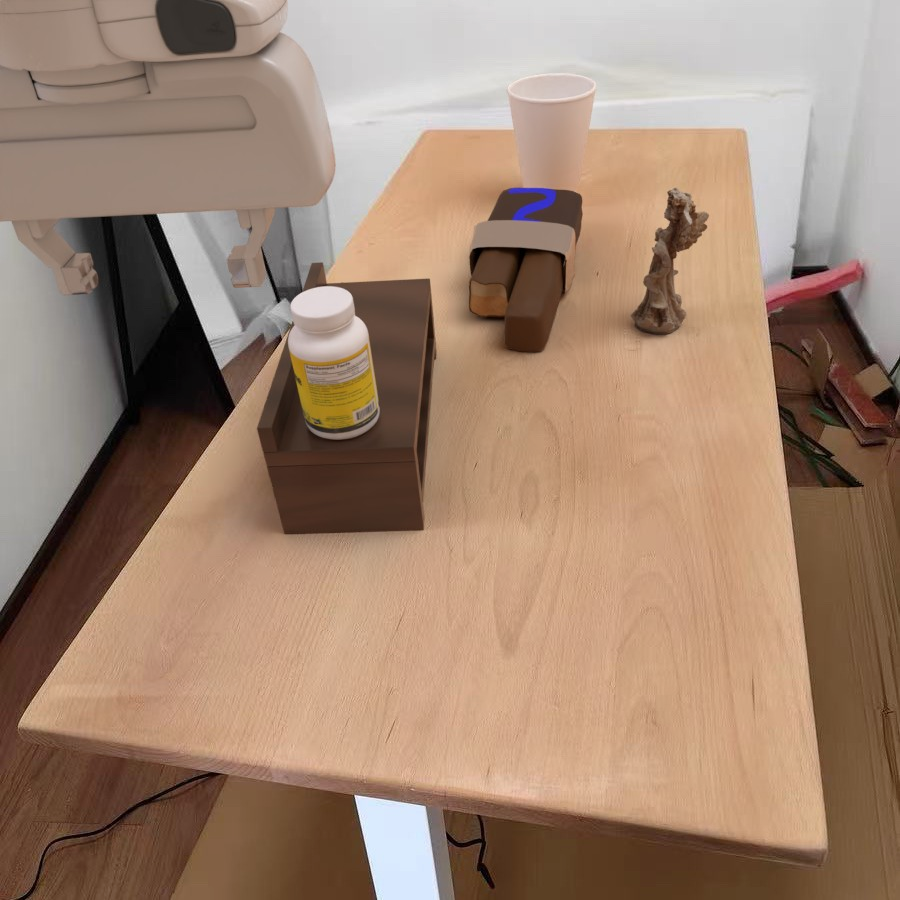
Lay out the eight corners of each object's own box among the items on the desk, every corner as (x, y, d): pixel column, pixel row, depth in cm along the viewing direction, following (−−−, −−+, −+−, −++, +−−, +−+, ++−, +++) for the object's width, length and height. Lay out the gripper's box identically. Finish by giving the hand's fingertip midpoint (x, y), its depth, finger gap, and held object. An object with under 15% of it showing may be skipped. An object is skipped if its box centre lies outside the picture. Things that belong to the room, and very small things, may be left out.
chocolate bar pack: (590, 223, 114) (592, 165, 108) (552, 367, 94) (552, 304, 88) (500, 219, 117) (496, 162, 111) (444, 357, 97) (437, 296, 91)
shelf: (423, 529, 73) (410, 422, 66) (284, 534, 74) (256, 428, 67) (436, 351, 95) (428, 256, 88) (328, 356, 96) (311, 262, 89)
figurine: (647, 302, 100) (658, 175, 91) (698, 313, 97) (715, 184, 88) (623, 332, 95) (631, 202, 86) (675, 344, 93) (690, 211, 83)
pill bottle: (314, 397, 74) (291, 281, 67) (386, 397, 73) (369, 280, 66) (297, 442, 69) (270, 322, 62) (373, 443, 68) (354, 321, 61)
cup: (605, 210, 120) (610, 91, 111) (523, 224, 119) (521, 105, 109) (576, 180, 130) (578, 68, 120) (500, 192, 128) (496, 80, 118)
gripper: (-179, 36, 37) (-46, 322, 45) (293, 6, 36) (340, 306, 44) (-100, 7, 42) (6, 269, 50) (316, -20, 41) (354, 253, 49)
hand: (165, 286), depth 47 cm, fingers open, 8 cm apart
